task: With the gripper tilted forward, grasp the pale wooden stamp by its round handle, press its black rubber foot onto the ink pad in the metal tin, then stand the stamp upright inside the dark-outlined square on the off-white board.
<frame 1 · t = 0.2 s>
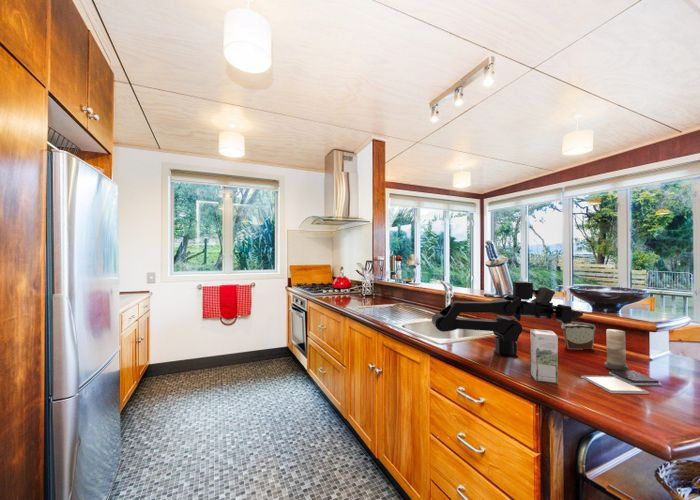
hand: (573, 311, 107), 17 cm above the counter, tool horizontal, fingers open, 9 cm apart
marked board: (612, 384, 82), on the counter
food container: (575, 347, 117), on the counter
syrup box: (543, 379, 86), on the counter
stamp: (616, 368, 94), on the counter
ink pad: (633, 379, 86), on the counter
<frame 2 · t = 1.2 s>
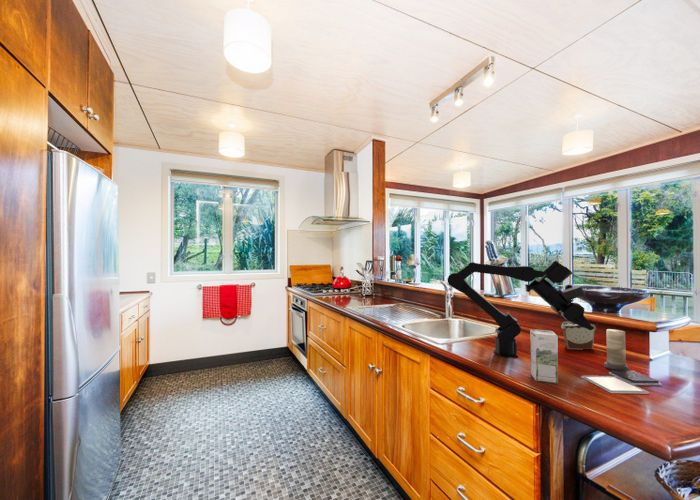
hand: (586, 326, 98), 13 cm above the counter, tool tilted 45°, fingers open, 9 cm apart
nothing on the counter moved.
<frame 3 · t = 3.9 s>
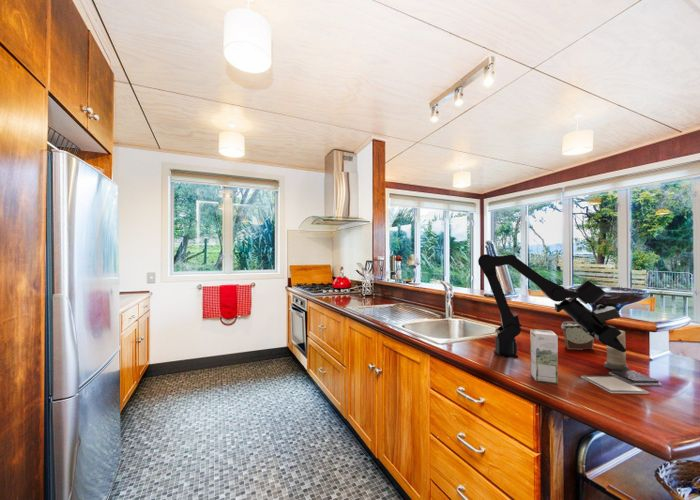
hand: (621, 349, 94), 7 cm above the counter, tool tilted 45°, fingers closed on stamp, 5 cm apart
stamp: (616, 368, 94), on the counter, touching gripper
everything else where it was.
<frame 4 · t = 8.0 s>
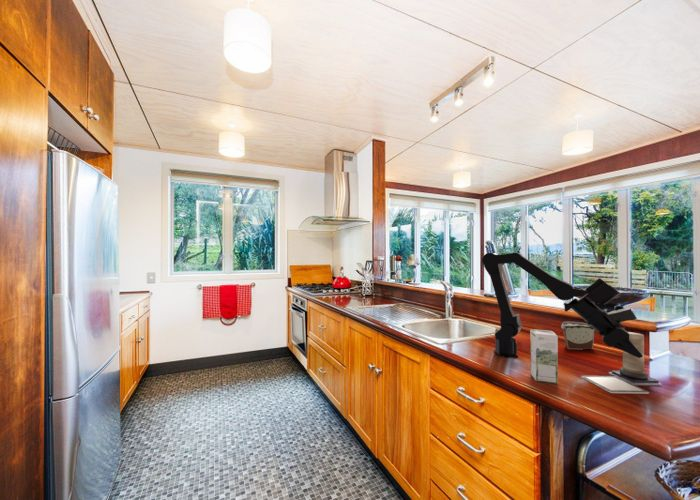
hand: (639, 354, 85), 8 cm above the counter, tool tilted 45°, fingers closed on stamp, 5 cm apart
stamp: (633, 375, 86), point 1 cm above the counter, touching gripper, ink pad
everything else where it was.
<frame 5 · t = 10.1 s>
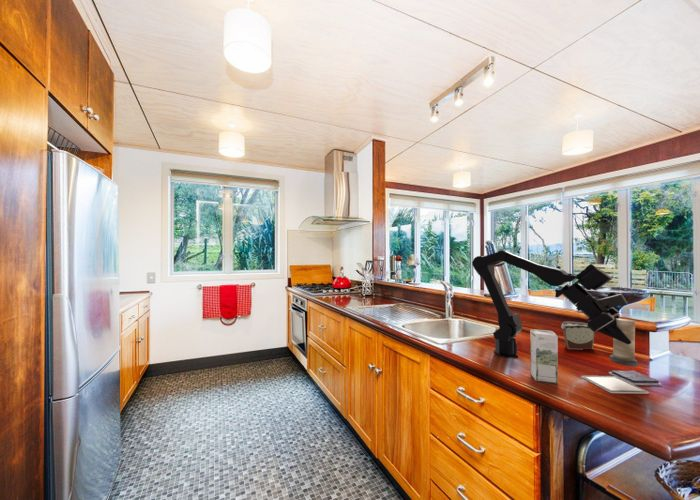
hand: (630, 341, 83), 12 cm above the counter, tool tilted 45°, fingers closed on stamp, 5 cm apart
stamp: (623, 362, 84), point 6 cm above the counter, touching gripper
everything else where it was.
when the fingers open (8 cm above the counter, at t = 12.0 s): stamp drops 1 cm, resting on marked board.
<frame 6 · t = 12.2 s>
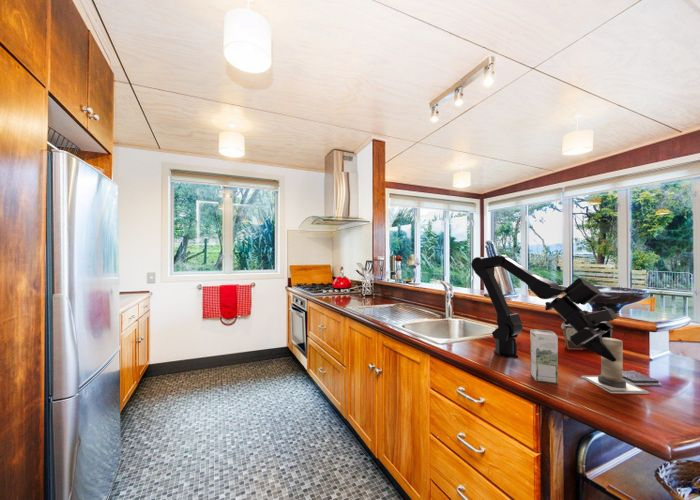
hand: (618, 358, 81), 8 cm above the counter, tool tilted 45°, fingers open, 7 cm apart
stamp: (611, 383, 82), resting on marked board
everything else where it was.
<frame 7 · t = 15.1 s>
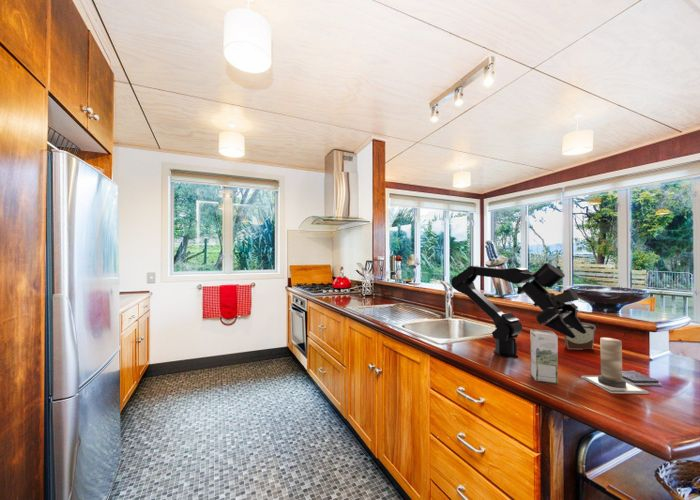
hand: (579, 335, 89), 13 cm above the counter, tool tilted 45°, fingers open, 9 cm apart
nothing on the counter moved.
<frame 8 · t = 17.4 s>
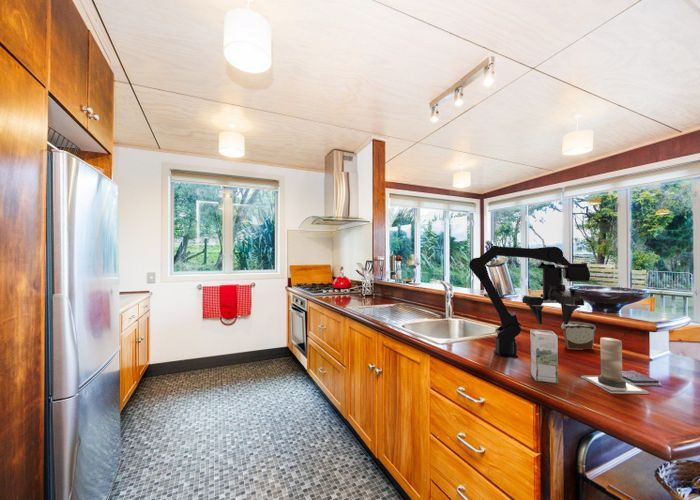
hand: (552, 324, 102), 13 cm above the counter, tool pointing down, fingers open, 9 cm apart
nothing on the counter moved.
at the end: stamp 0.3 cm off-centre on the marked board, point 0.4 cm above the marked board's base; stamp tilted 0°; the gripper is holding nothing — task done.
